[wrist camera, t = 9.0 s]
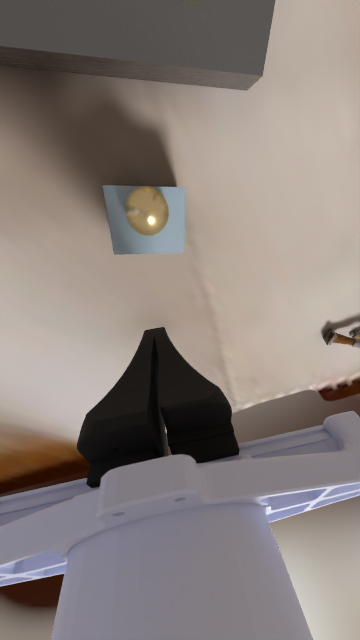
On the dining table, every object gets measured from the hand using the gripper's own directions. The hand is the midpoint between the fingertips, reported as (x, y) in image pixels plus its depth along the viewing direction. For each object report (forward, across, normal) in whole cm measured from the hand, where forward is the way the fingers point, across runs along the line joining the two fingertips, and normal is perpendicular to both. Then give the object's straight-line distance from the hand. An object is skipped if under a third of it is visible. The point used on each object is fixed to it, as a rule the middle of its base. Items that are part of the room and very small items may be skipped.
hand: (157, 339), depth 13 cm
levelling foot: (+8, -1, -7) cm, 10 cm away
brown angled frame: (+8, -26, +12) cm, 30 cm away
